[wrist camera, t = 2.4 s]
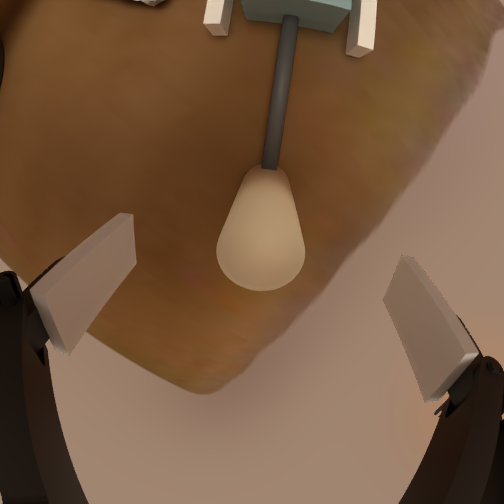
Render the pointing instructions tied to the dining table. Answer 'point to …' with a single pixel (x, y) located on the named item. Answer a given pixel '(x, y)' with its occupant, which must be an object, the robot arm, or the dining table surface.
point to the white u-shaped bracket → (358, 28)
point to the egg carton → (150, 2)
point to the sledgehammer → (272, 164)
